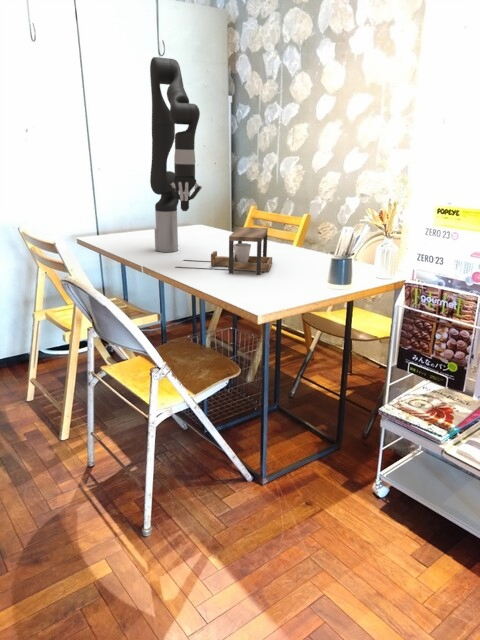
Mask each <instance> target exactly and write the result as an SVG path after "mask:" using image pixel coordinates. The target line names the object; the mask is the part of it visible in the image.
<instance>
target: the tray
mask: <svg viewBox="0 0 480 640" xmlns="http://www.w3.org/2000/svg"><path fill="white" fill-rule="evenodd" d="M233 253H234V251H233ZM210 261H211V262H210V267H215V266H222V267H223V266H224V267H225V266H227V269H229V256H222V255H220V256H219V255H218V251H217V250H213V252H211V254H210ZM272 264H273V256H267V257H263V256H261V271H265V272H269V271H270V268H271V267H272ZM256 269H257V255H256V256H254V255H251V256H250V255H249V259H248V262H247V263H240V262H236V260H235V262H233V270H251V271H256Z"/></svg>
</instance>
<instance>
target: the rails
mask: <svg viewBox="0 0 480 640" xmlns="http://www.w3.org/2000/svg"><path fill="white" fill-rule="evenodd" d="M182 261H184V262H201V263H203V262H204V263H211V260H195V259H192V260H191V259H183V260H182ZM174 268H175V269H176V268H177V269H178V268H179V269H193V268H194V269H197V270H212V269H214V270H215V271H229V269H228V268H213V267H212V268H211V267H210V268H208V267H194V266H193V267H189V266H175V267H174ZM194 269H193V270H194ZM214 270H213V271H214ZM235 271H236V272H250V273H251V272H252V273H254V272H255V273H256V271H255V270H236V269H233V272H235ZM265 272H266V271H261V273H265Z"/></svg>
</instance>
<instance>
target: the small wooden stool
mask: <svg viewBox="0 0 480 640" xmlns="http://www.w3.org/2000/svg"><path fill="white" fill-rule="evenodd" d="M268 232H269V231H268V227H249V226H248V227H247V226H243V227H242V226H238V227H237V228H236V229H235V230H234V231H232V233H231V234H230V235H229V236H228V242H229V243H228V257H229V270H228V274H230V273H232V274H234V271H233V270H234V269H233V252H234V244H235V243H234V242H237V243H243V242H248V243H249V242H250V243H251V242H254V243H255V242H256V256H257V269H256V272H255V275H257V276H261V273H262V272H261V264H262V263H261V257H268ZM262 241H263V243H262Z"/></svg>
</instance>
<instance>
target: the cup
mask: <svg viewBox="0 0 480 640" xmlns="http://www.w3.org/2000/svg"><path fill="white" fill-rule="evenodd" d="M251 247H252V244H251V243H248V242H247V243H244V242H242V243H238V242H237V243H234V251H233V252H234V253H233V262H235V260H236V262H240V263H247V262H248V259H249V256H250V253H251Z"/></svg>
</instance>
